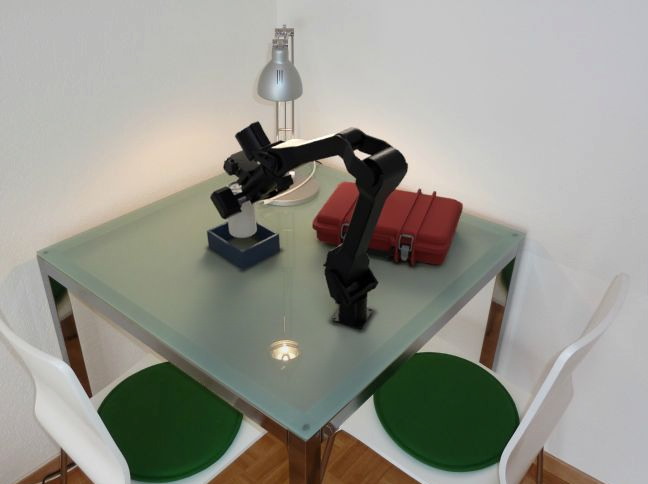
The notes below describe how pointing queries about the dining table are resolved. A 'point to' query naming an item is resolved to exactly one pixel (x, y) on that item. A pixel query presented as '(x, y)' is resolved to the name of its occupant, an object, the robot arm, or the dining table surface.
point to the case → (249, 255)
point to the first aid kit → (395, 224)
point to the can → (242, 217)
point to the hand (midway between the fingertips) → (237, 205)
